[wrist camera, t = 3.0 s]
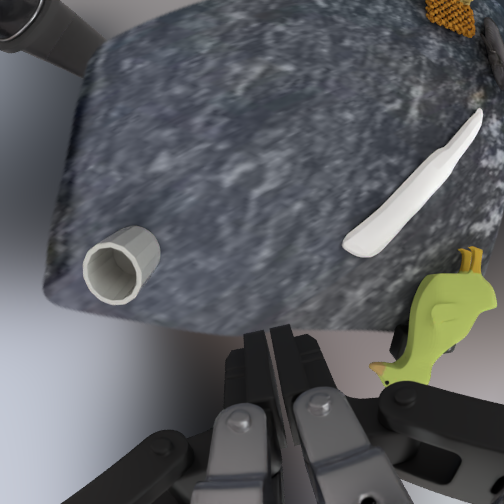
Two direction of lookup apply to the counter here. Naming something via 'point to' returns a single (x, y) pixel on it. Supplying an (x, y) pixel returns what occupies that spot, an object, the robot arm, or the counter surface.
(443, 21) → the ornament
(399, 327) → the multiport hub
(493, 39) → the ribbed torch
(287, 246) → the counter surface
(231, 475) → the robot arm
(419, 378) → the toy
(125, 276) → the pot
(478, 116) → the white long flat piece
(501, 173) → the counter surface
